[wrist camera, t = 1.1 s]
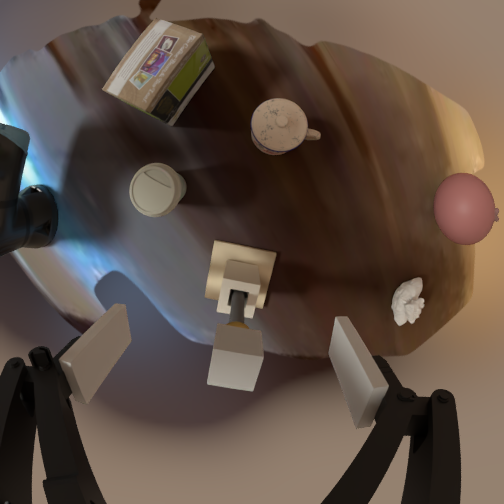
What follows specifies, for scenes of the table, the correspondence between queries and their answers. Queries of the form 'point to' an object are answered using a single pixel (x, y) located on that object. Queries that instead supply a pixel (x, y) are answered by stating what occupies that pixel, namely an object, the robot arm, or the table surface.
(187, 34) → the tea box
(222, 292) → the marker sleeve
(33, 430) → the robot arm
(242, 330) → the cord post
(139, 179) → the coffee cup
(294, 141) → the teacup with lid
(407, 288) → the bust
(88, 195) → the table surface
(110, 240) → the table surface
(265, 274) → the tan slab base
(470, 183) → the balloon
